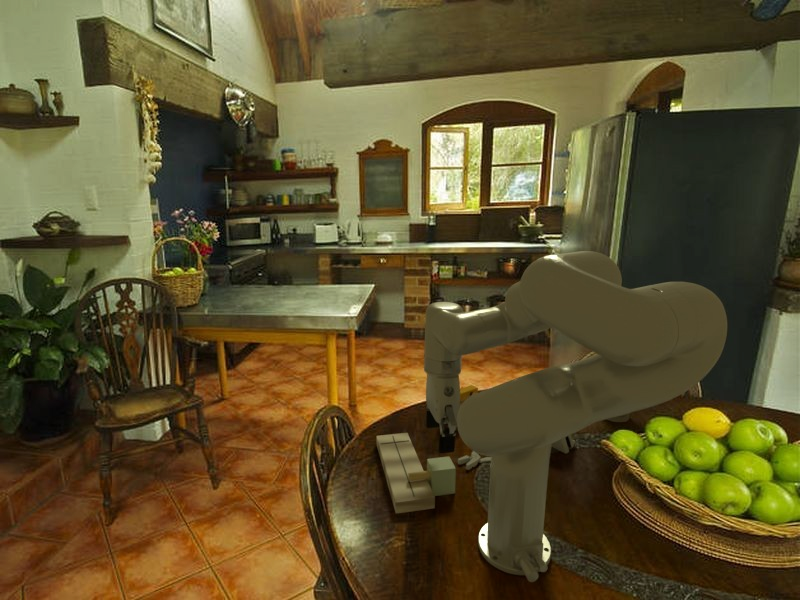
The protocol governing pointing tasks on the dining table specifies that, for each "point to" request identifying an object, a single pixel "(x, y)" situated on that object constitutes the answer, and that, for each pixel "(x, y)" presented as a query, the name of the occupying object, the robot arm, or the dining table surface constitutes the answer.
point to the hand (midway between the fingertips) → (439, 439)
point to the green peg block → (438, 475)
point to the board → (403, 474)
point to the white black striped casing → (564, 444)
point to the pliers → (473, 460)
